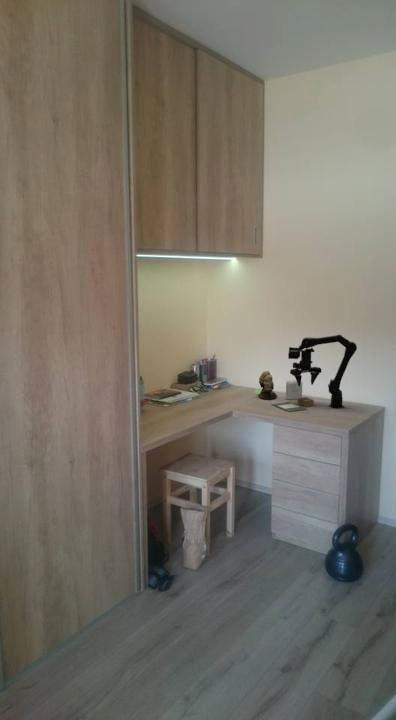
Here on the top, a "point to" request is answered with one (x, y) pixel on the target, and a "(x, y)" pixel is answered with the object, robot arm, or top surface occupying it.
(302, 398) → the walnut card box
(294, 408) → the picture frame
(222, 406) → the top surface
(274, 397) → the bust sculpture
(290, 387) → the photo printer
